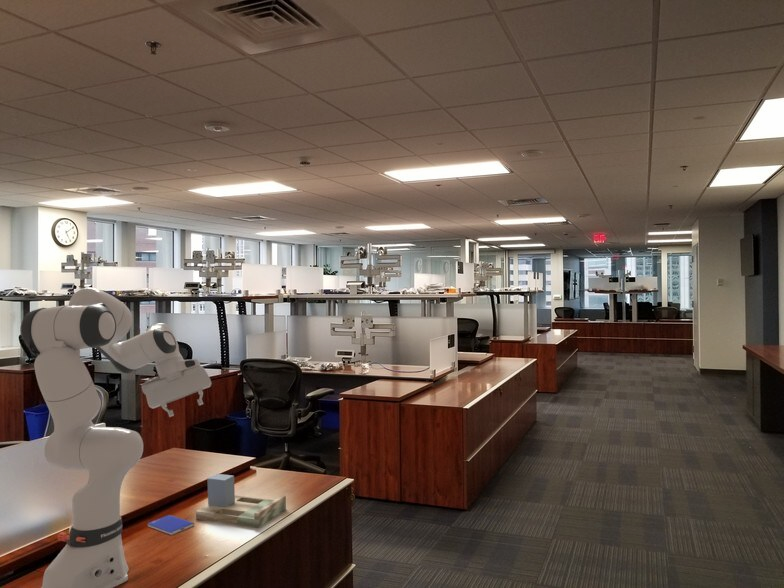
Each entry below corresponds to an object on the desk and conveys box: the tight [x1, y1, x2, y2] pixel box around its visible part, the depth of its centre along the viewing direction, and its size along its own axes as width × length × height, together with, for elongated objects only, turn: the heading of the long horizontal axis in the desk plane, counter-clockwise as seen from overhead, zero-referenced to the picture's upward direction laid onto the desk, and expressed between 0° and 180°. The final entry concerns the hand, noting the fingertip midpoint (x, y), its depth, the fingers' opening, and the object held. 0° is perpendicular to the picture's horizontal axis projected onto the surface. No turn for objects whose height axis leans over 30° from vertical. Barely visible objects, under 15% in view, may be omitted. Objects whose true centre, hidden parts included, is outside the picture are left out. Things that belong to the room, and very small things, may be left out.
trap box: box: [195, 494, 287, 529], centre depth 191 cm, size 16×24×4 cm, turn 69°
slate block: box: [206, 473, 236, 508], centre depth 194 cm, size 5×7×9 cm
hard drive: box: [147, 514, 195, 536], centre depth 182 cm, size 2×8×12 cm
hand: (186, 410), depth 186 cm, fingers open, 8 cm apart
